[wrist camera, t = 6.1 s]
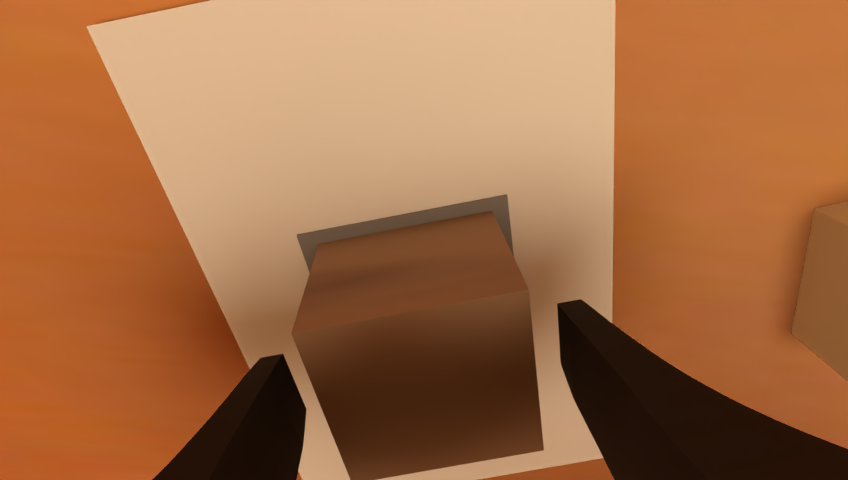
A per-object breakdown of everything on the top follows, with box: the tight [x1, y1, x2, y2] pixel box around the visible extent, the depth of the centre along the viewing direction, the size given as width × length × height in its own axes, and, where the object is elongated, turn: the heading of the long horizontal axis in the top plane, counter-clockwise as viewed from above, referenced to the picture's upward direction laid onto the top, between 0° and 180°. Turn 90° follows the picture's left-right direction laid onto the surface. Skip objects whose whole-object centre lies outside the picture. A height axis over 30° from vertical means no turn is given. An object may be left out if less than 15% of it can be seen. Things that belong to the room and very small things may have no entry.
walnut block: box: [291, 211, 544, 480], centre depth 13 cm, size 5×5×4 cm
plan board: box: [86, 0, 615, 480], centre depth 15 cm, size 18×12×1 cm, turn 10°
